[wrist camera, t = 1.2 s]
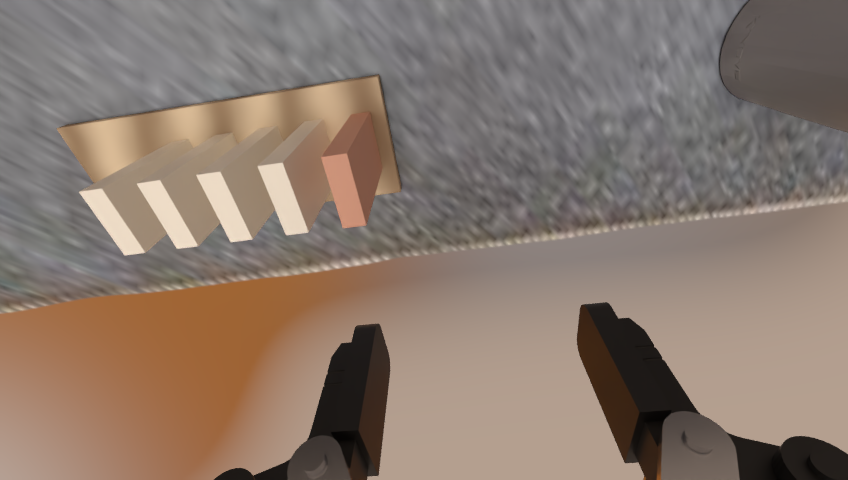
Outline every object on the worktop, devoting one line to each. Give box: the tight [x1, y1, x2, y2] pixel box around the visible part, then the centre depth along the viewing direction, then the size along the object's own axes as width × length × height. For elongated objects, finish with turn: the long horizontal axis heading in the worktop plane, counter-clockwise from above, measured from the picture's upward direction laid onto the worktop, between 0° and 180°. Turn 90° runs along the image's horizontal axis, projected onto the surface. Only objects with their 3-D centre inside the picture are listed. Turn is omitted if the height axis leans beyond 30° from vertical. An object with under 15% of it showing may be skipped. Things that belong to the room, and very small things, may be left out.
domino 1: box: [79, 139, 193, 255], centre depth 29 cm, size 2×5×10 cm, turn 9°
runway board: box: [56, 75, 401, 202], centre depth 33 cm, size 28×10×1 cm, turn 99°
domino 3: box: [196, 126, 283, 242], centre depth 28 cm, size 2×5×10 cm, turn 8°
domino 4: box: [257, 119, 331, 235], centre depth 28 cm, size 2×5×10 cm, turn 8°
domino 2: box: [137, 133, 237, 249], centre depth 28 cm, size 2×5×10 cm, turn 9°
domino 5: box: [321, 112, 383, 228], centre depth 27 cm, size 2×5×10 cm, turn 8°
